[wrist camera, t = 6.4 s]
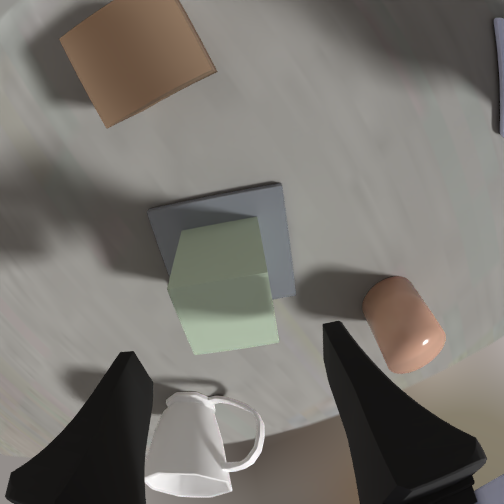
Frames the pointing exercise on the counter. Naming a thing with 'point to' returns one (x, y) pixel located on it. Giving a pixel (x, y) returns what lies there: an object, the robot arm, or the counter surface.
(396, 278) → the terracotta cylinder
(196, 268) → the sage block
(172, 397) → the cup
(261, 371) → the counter surface
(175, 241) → the slate coaster
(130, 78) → the walnut block
